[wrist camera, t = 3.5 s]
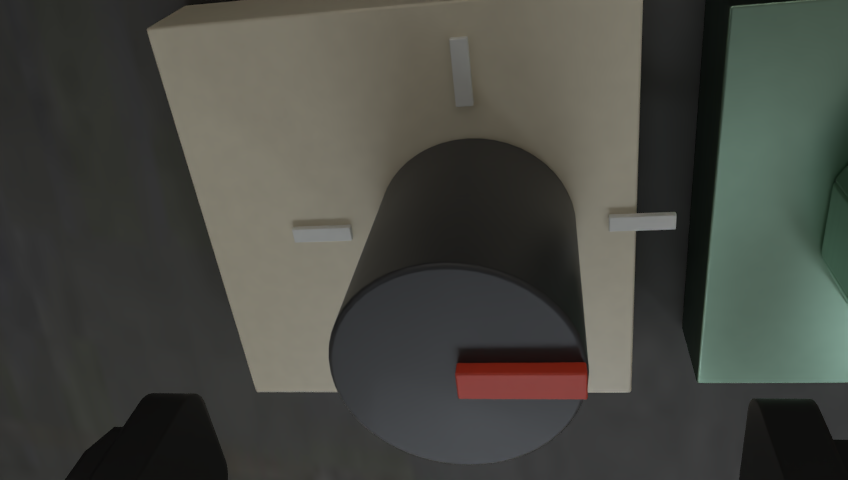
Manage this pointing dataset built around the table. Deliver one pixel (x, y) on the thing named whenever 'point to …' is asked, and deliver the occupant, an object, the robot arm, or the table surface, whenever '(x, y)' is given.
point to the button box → (770, 195)
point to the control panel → (396, 145)
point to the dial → (466, 309)
